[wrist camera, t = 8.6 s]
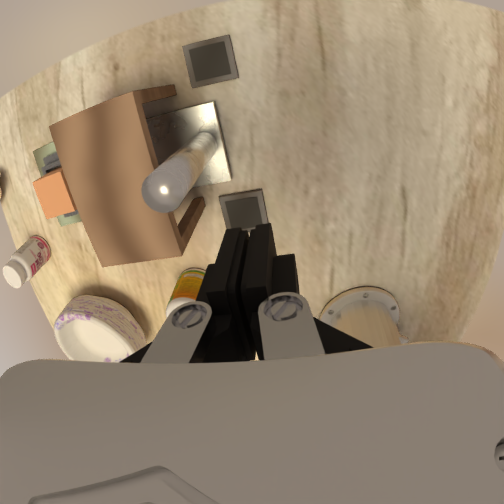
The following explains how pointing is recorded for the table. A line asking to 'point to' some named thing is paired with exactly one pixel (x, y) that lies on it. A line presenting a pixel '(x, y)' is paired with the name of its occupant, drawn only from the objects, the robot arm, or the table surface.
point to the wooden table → (138, 169)
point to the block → (54, 194)
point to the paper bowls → (97, 330)
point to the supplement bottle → (185, 288)
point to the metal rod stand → (178, 156)
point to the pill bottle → (26, 261)
